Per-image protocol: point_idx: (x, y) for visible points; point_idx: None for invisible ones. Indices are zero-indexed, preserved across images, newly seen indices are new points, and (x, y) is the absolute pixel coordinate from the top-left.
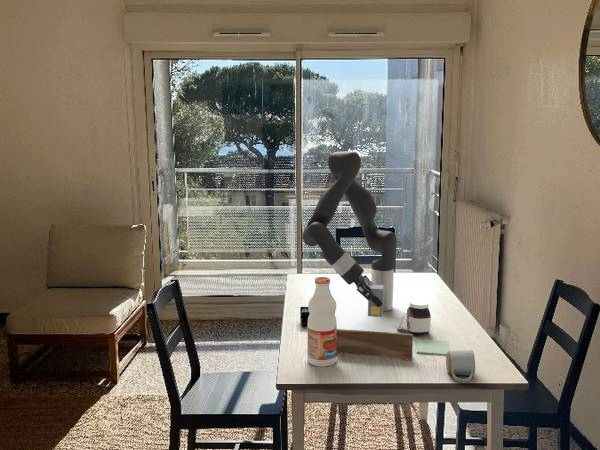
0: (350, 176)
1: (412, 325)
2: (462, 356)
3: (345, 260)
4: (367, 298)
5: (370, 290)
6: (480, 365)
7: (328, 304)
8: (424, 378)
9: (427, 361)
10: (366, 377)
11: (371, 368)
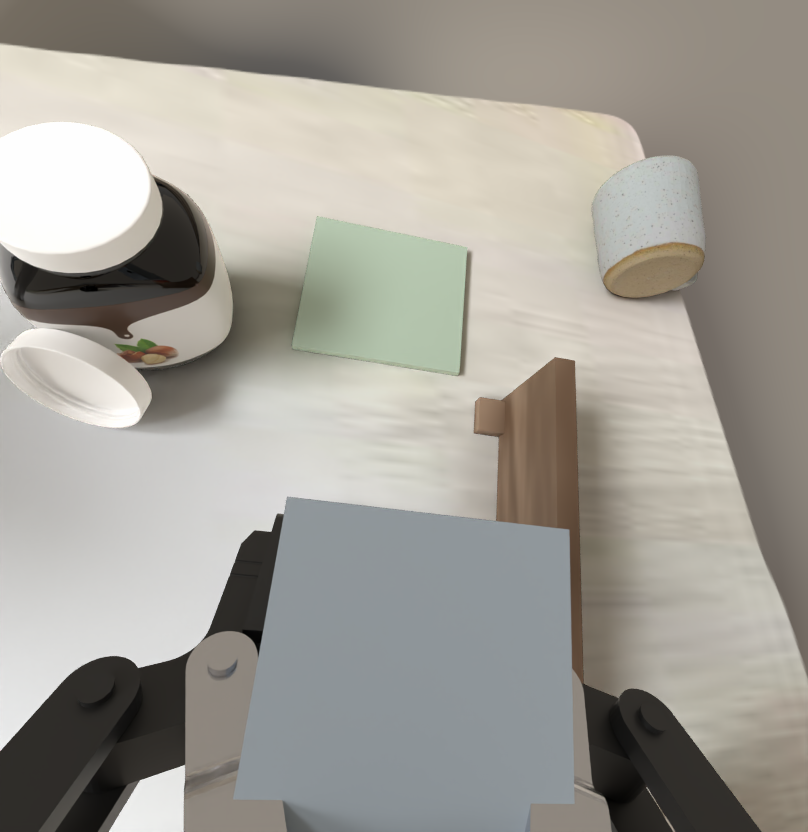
0: None
1: (203, 331)
2: (700, 209)
3: None
4: (644, 790)
5: (595, 801)
6: (534, 180)
7: None
8: (686, 387)
9: (534, 347)
10: (747, 622)
11: (657, 598)
